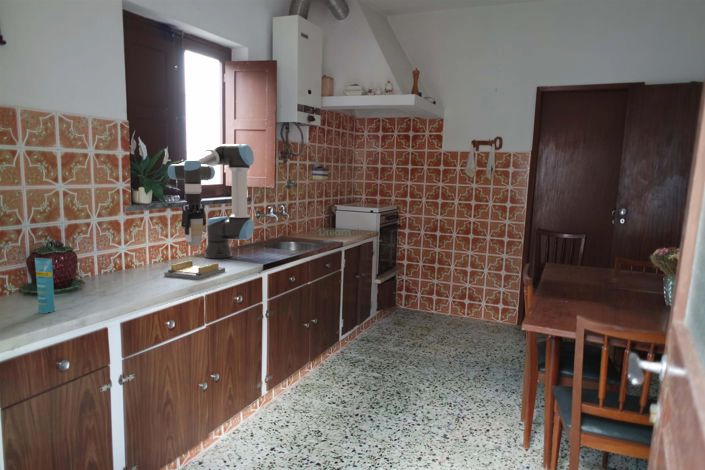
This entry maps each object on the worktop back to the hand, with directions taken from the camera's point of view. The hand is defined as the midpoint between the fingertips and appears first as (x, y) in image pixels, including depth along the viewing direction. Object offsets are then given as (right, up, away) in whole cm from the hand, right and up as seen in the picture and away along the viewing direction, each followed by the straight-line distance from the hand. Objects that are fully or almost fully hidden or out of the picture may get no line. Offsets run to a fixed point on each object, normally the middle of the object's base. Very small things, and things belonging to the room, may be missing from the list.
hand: (194, 240), depth 233 cm
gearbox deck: (0, -16, +2) cm, 17 cm away
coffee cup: (0, -2, 0) cm, 2 cm away
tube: (-32, -25, -62) cm, 74 cm away
